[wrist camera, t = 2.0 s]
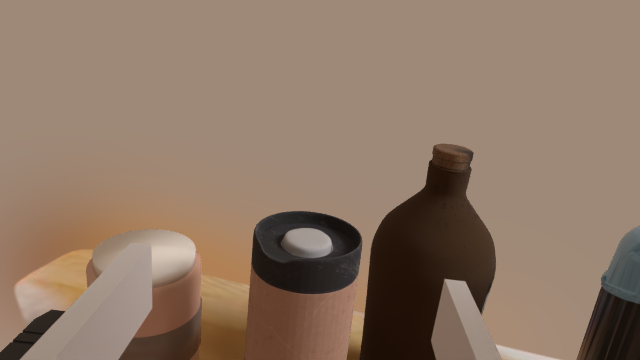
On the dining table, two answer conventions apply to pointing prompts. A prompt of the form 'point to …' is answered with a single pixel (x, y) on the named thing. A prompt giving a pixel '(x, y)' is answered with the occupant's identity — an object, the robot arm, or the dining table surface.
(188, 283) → the terracotta canister
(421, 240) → the olive oil
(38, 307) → the dining table surface
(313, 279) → the travel mug
